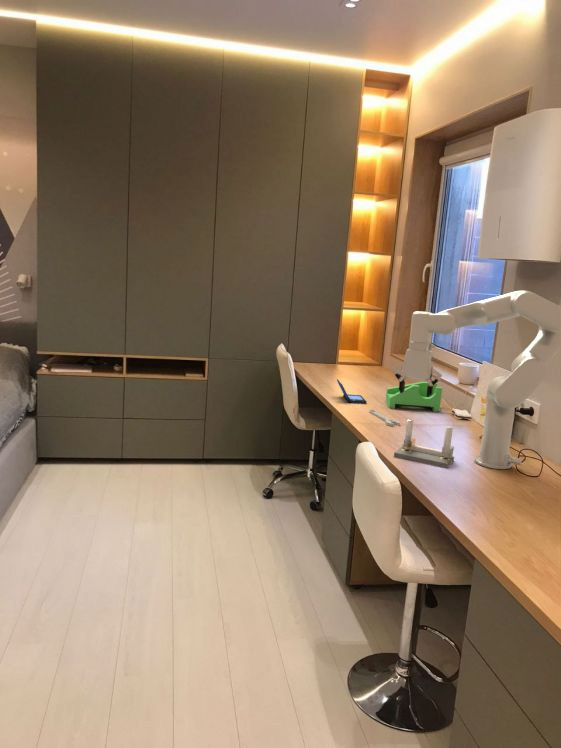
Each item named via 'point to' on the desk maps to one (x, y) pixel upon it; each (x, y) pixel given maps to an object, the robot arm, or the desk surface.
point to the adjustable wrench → (385, 418)
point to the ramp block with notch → (414, 396)
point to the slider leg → (409, 435)
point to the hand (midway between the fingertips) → (415, 394)
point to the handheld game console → (351, 396)
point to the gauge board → (423, 458)
